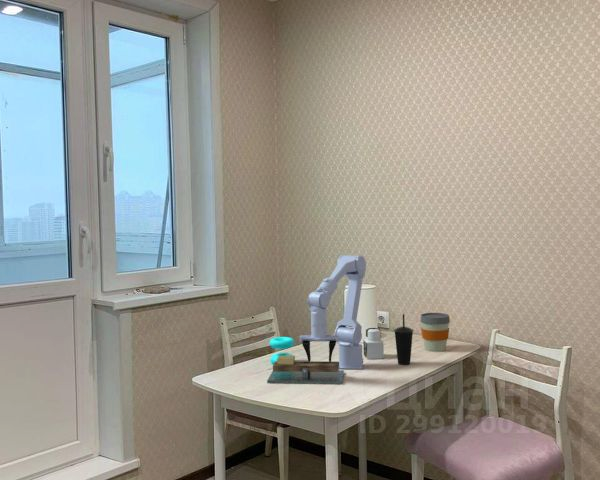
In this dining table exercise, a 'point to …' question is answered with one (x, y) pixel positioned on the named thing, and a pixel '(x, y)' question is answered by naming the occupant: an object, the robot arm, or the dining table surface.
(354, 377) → the dining table surface
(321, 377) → the stand
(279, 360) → the block
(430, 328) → the reusable coffee cup
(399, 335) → the drinking cup
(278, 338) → the donuts
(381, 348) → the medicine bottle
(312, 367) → the brown long flat tray
